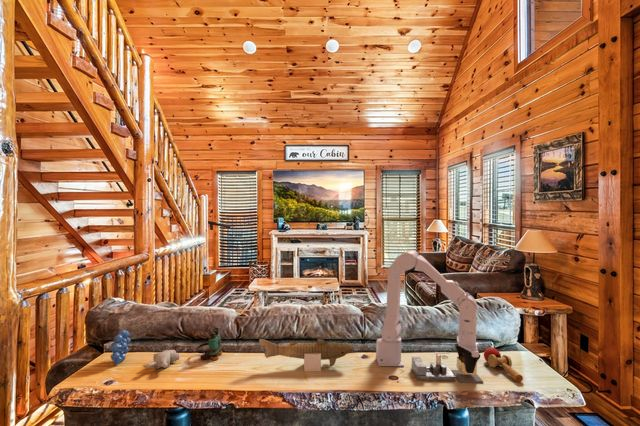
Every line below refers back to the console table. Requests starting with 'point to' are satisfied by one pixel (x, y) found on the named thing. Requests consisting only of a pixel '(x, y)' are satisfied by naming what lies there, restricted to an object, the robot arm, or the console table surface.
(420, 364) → the gray fixture base
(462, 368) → the wooden hollow block
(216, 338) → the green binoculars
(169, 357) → the bunny figurine
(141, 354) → the console table surface
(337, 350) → the wood carving
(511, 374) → the kendama
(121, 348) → the grapes
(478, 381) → the rubber mat
